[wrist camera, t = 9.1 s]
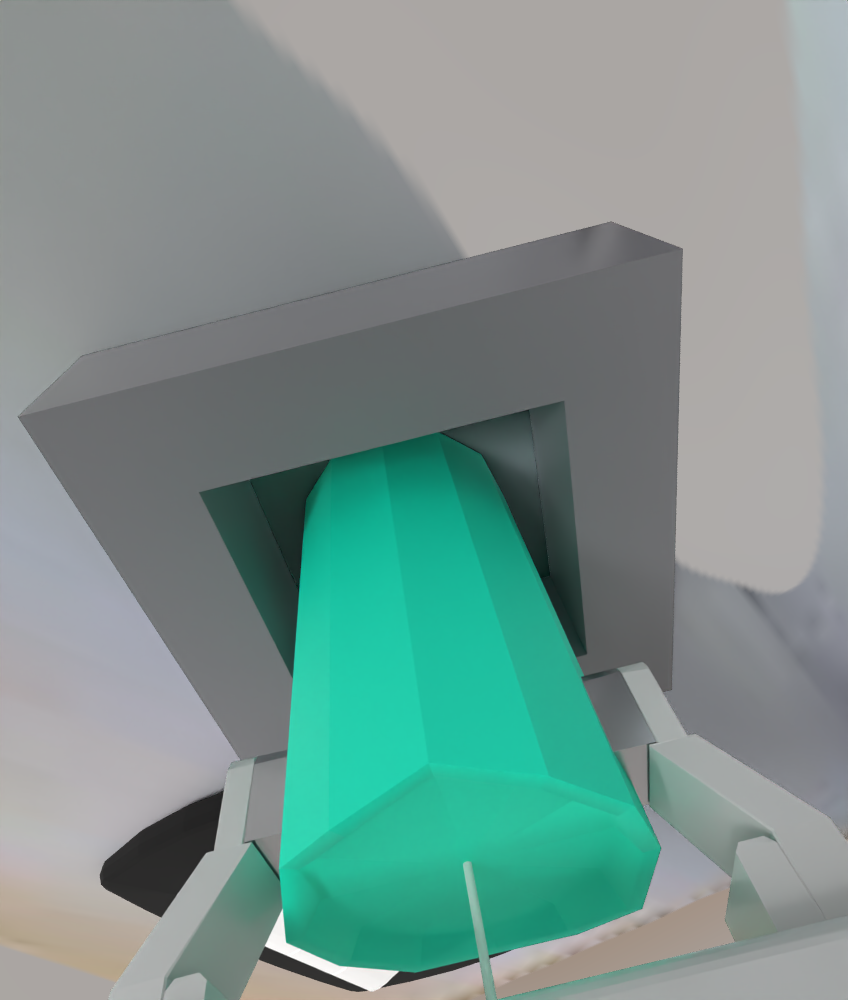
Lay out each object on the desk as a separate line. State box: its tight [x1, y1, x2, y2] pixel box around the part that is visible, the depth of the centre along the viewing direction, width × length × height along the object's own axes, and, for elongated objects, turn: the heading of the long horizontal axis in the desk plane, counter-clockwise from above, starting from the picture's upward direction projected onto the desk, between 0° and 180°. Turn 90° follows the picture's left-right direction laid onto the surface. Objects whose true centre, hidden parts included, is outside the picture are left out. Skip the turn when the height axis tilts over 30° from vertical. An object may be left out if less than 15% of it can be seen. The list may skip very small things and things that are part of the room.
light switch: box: [100, 792, 514, 992], centre depth 28 cm, size 20×3×14 cm
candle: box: [279, 432, 661, 1000], centre depth 13 cm, size 6×6×12 cm
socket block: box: [18, 222, 683, 760], centre depth 16 cm, size 13×13×4 cm
